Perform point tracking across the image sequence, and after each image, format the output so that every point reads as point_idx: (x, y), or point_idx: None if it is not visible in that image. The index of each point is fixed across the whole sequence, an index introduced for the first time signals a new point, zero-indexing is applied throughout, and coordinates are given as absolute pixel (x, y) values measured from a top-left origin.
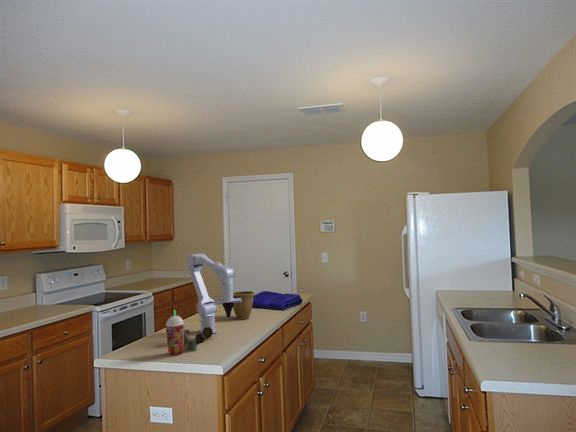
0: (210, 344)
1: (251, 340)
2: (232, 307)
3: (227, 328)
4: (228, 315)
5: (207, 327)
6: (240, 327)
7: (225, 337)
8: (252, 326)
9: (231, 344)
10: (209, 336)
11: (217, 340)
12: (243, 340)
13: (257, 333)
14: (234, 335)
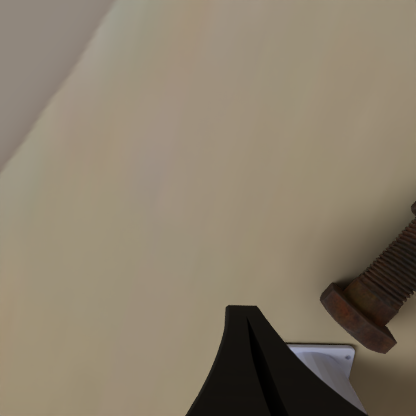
0: (403, 110)
1: (109, 30)
2: (196, 406)
3: (179, 398)
4: (254, 318)
5: (374, 341)
6: (103, 382)
7: (254, 223)
8: (27, 368)
9: (280, 11)
10: (337, 286)
11: (324, 182)
12: (166, 70)
13: (25, 197)
14: (186, 236)
